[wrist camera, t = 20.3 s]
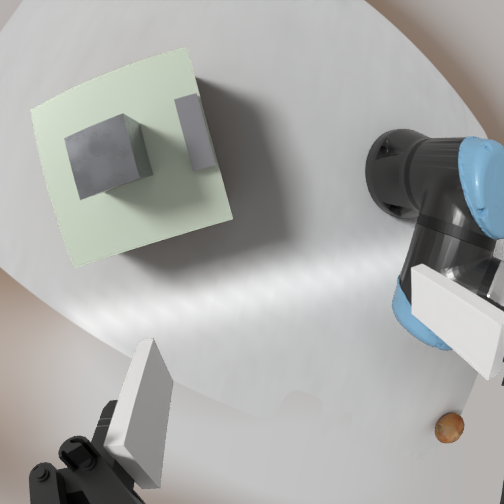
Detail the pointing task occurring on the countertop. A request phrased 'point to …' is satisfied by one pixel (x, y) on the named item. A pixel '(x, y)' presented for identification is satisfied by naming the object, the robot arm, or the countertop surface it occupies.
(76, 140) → the block
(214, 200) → the lid
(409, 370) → the countertop surface
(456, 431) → the onion
